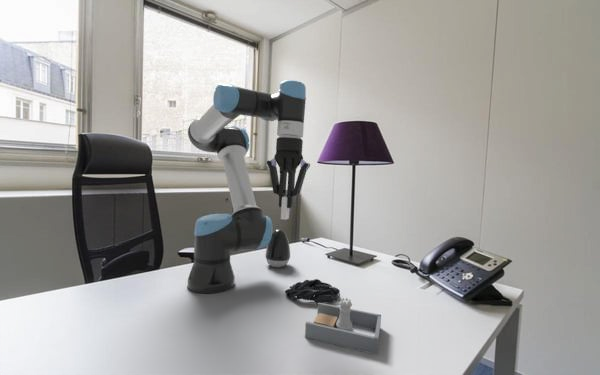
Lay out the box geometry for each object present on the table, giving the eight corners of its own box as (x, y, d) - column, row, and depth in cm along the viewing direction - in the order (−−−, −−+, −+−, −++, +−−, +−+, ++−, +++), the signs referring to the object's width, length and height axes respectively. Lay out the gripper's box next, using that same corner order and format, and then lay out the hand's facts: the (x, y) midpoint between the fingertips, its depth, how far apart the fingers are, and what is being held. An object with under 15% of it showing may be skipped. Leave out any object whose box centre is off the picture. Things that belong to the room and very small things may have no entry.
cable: (286, 306, 87) (287, 291, 87) (282, 287, 101) (283, 274, 100) (342, 305, 89) (343, 291, 89) (331, 286, 103) (332, 274, 103)
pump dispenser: (262, 262, 125) (264, 226, 124) (286, 261, 128) (287, 226, 127) (267, 270, 115) (268, 232, 114) (292, 269, 118) (294, 231, 117)
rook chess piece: (339, 324, 77) (341, 294, 77) (355, 330, 75) (357, 299, 74) (332, 332, 73) (333, 300, 73) (348, 338, 71) (350, 306, 71)
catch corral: (304, 337, 70) (305, 323, 70) (318, 314, 82) (318, 302, 82) (376, 354, 65) (378, 339, 65) (380, 327, 76) (381, 314, 76)
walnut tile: (312, 331, 74) (313, 321, 74) (318, 321, 79) (319, 312, 78) (332, 336, 72) (332, 326, 72) (337, 326, 77) (337, 317, 77)
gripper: (263, 135, 83) (259, 217, 85) (307, 137, 79) (301, 223, 80) (274, 138, 90) (270, 214, 92) (315, 139, 86) (309, 219, 88)
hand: (284, 218), depth 86 cm, fingers closed
